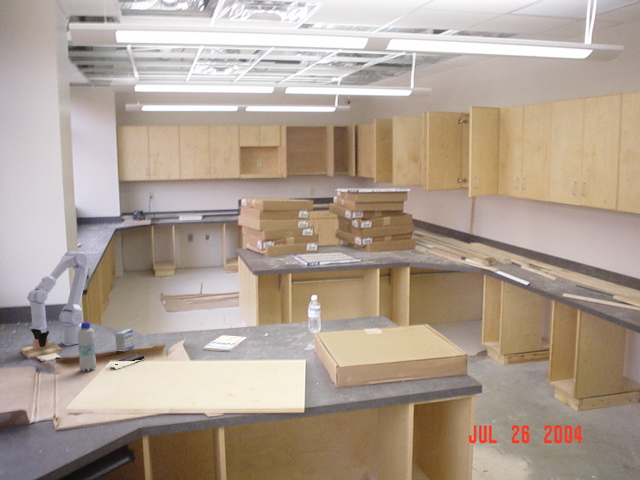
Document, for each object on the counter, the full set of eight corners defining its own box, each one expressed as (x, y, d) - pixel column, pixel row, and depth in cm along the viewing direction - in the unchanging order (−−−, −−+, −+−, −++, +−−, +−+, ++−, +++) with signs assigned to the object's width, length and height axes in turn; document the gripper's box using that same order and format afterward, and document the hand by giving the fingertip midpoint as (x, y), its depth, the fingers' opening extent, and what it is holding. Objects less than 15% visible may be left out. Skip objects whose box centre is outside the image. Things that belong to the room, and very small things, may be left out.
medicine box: (125, 352, 253) (124, 333, 252) (116, 351, 254) (115, 333, 253) (134, 347, 261) (133, 328, 260) (125, 346, 262) (124, 328, 261)
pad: (55, 354, 252) (55, 352, 252) (60, 358, 246) (60, 357, 246) (36, 357, 247) (36, 356, 247) (41, 362, 241) (41, 361, 241)
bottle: (100, 367, 233) (97, 320, 230) (89, 373, 226) (85, 325, 224) (87, 366, 235) (84, 319, 233) (75, 371, 228) (72, 323, 226)
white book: (247, 340, 271) (247, 336, 270) (229, 352, 251) (229, 348, 251) (221, 338, 274) (221, 334, 274) (202, 350, 255) (202, 346, 255)
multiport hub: (109, 368, 233) (109, 363, 233) (138, 358, 245) (137, 353, 245) (116, 370, 231) (116, 364, 230) (144, 360, 243) (144, 355, 242)
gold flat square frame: (53, 345, 266) (53, 341, 265) (62, 352, 255) (61, 347, 255) (20, 351, 257) (20, 347, 257) (28, 358, 246) (28, 354, 246)
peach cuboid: (47, 350, 259) (46, 337, 258) (49, 351, 257) (48, 338, 256) (33, 352, 255) (32, 340, 254) (34, 354, 253) (33, 341, 253)
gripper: (25, 314, 257) (27, 343, 258) (33, 320, 246) (35, 350, 247) (41, 312, 261) (43, 340, 263) (50, 317, 250) (52, 347, 252)
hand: (40, 345), depth 256 cm, fingers open, 6 cm apart
